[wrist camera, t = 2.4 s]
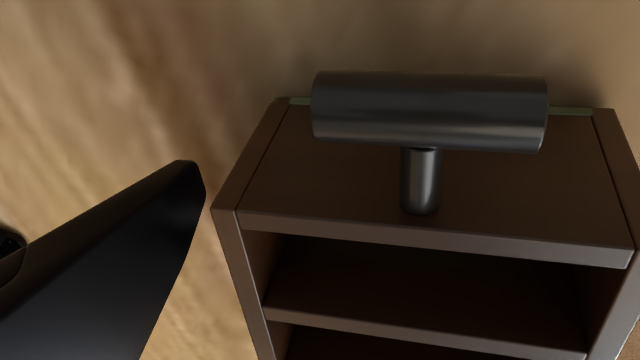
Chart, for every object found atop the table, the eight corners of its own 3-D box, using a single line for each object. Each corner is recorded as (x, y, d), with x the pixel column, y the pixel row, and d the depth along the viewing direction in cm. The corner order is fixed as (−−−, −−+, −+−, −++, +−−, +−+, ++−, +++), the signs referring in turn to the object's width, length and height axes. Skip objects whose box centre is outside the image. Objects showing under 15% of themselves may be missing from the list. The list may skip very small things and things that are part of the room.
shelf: (256, -5, 17) (169, 89, 12) (654, -12, 14) (754, 109, 9) (303, 264, 25) (264, 381, 21) (552, 293, 23) (574, 437, 18)
